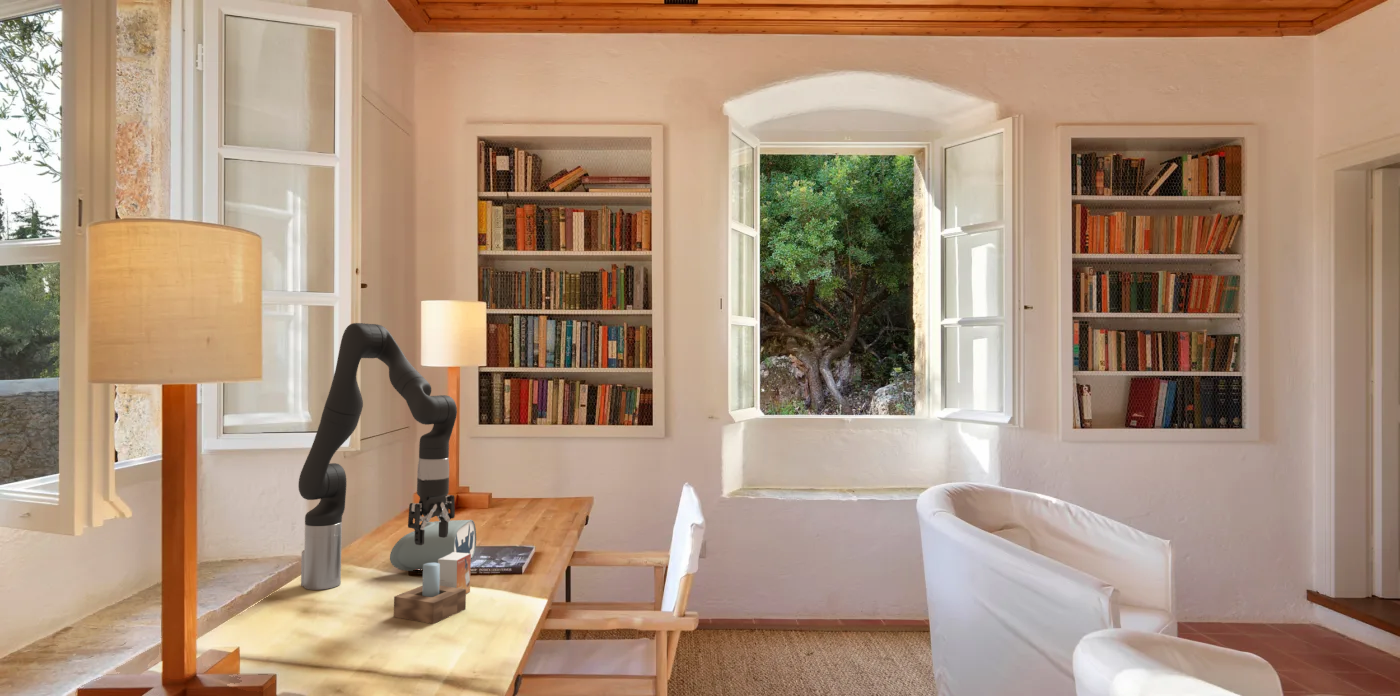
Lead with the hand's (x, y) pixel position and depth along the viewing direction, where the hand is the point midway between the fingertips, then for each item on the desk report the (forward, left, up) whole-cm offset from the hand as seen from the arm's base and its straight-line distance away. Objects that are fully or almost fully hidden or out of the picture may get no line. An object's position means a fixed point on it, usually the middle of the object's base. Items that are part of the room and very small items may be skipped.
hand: (431, 540), depth 199 cm
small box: (-4, +14, -18) cm, 23 cm away
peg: (0, 0, -18) cm, 18 cm away
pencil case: (-28, +35, -18) cm, 48 cm away
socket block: (0, 0, -18) cm, 18 cm away
